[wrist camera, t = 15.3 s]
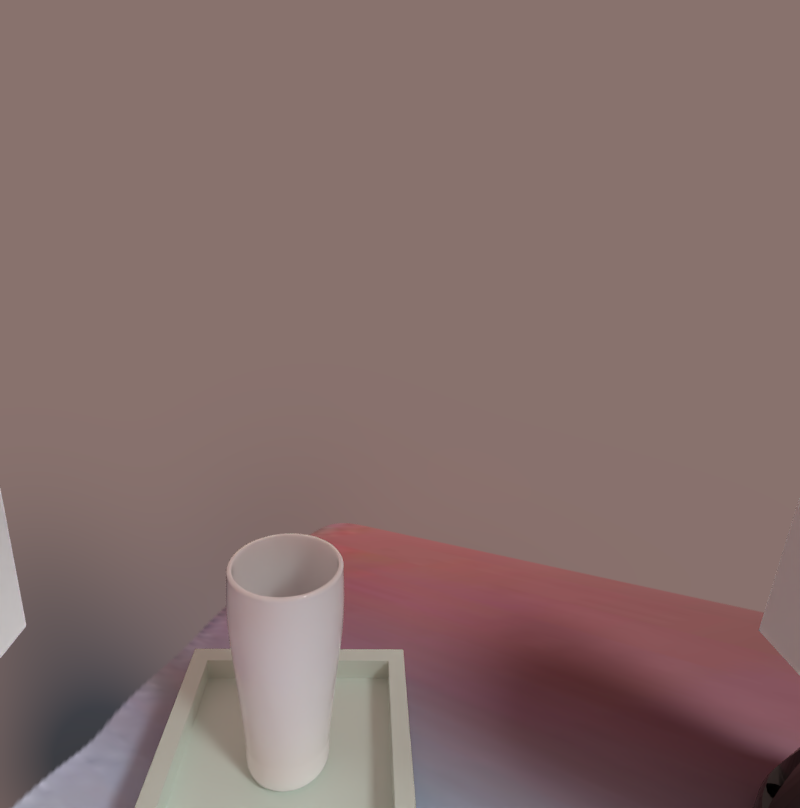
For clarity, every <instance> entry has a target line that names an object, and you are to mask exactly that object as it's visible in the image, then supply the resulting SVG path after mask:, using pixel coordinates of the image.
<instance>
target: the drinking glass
mask: <svg viewBox="0 0 800 808" xmlns="http://www.w3.org/2000/svg"><path fill="white" fill-rule="evenodd" d="M226 610H227V626H228V635H229V642H230V649H231V655H232V661H233V667H234V673H235V679H236V685H237V692H238V698H239V704H240V710H241V717H242V723H243V730H244V736H245V746H246V761H247V766H248V770H249V772H250V774H251V776H252V777H253V778H254V780H255V781H256V782H257V783H258V784H260V785H261V786H263V787H264V788H266V789H269V790H272V791H277V792H288V791H294V790H297V789H300V788H302V787H304V786H306V785H308V784H309V783H311V782H312V781H313V780H314V779H316V778H317V777H318V775H319V774H320V773H321V772H322V770H323V768H324V767H325V765H326V762H327V760H328V756H329V749H330V727H331V718H332V710H333V701H334V693H335V685H336V677H337V670H338V662H339V654H340V647H341V639H342V630H343V618H344V563H343V559H342V556H341V554H340V552H339V551H338V550H337V549H336V548H335V547H334V546H333V545H332V544H330V543H329V542H327V541H325V540H323V539H320V538H318V537H314V536H310V535H305V534H293V533H291V534H290V533H287V534H276V535H271V536H266V537H263V538H260V539H257V540H254V541H252V542H250V543H249V544H246V545H245V546H243V547H242V548H240V549H239V550H238V551H237V552H236V553H235V554H234V555H233V556H232V558H231V559H230V560H229V563H228V565H227V569H226Z"/></svg>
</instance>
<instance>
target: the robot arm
mask: <svg viewBox="0 0 800 808" xmlns="http://www.w3.org/2000/svg"><path fill="white" fill-rule="evenodd" d="M25 627H26V621H25V616H24V610H23V605H22V600H21V595H20V589H19V584H18V579H17V573H16V568H15V563H14V558H13V553H12V547H11V542H10V536H9V532H8V526H7V521H6V515H5V510H4V505H3V500H2V494H1V489H0V658H1V657H2V656H3V654H4V653H5V652H6V651H7V649H8V648H9V647H10V646H11V644H12V643H13V642H14V641H15V639H16V638H17V637H18V636H19V634H20V633H21V632H22V631H23V629H24V628H25ZM759 631H760V632H761V633H762V634H763V635H764V637H765V638H766V639H767V640H768V641H769V642H770V643H771V644H772V645H773V646H774V648H775V649H776V650H777V651H778V652H779V653H780V654H781V655H782V656H783V657H784V658H785V660H786V661H787V662H788V663H789V664H790V665H791V666H792V667H793V668H794V669H795V671H796V672H797V673H798V674H799V675H800V499H799V501H798V504H797V507H796V511H795V514H794V517H793V520H792V524H791V527H790V530H789V534H788V537H787V540H786V544H785V547H784V550H783V553H782V556H781V560H780V563H779V566H778V570H777V573H776V576H775V579H774V583H773V586H772V589H771V592H770V596H769V599H768V602H767V606H766V609H765V612H764V615H763V618H762V622H761V625H760V628H759ZM753 808H800V748H799V749H797V750H796V751H795V752H794V753H793V754H791V755H790V756H789V757H788V758H787V759H785V760H784V761H783V762H782V763H781V764H780V765H778V766H777V767H776V768H775V769H774V770H773V771H772V772H771V773H770V774H769V775H768V776H767V778H766V779H765V781H764V782H763V784H762V786H761V788H760V790H759V793H758V796H757V798H756V801H755V804H754V807H753Z"/></svg>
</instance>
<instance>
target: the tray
mask: <svg viewBox="0 0 800 808" xmlns="http://www.w3.org/2000/svg"><path fill="white" fill-rule="evenodd" d="M135 808H416V802H415V790H414V778H413V765H412V753H411V740H410V728H409V716H408V703H407V691H406V679H405V666H404V654H403V650H396V649H340V654H339V662H338V670H337V677H336V685H335V693H334V701H333V710H332V718H331V727H330V749H329V756H328V760H327V762H326V765H325V767H324V768H323V770H322V772H321V773H320V774H319V775H318V777H317V778H316V779H314V780H313V781H312V782H311V783H309V784H308V785H306V786H304V787H302V788H300V789H297V790H294V791H288V792H277V791H272V790H269V789H266V788H264V787H263V786H261V785H260V784H258V783H257V782H256V781H255V780H254V778H253V777H252V776H251V774H250V772H249V770H248V766H247V761H246V746H245V736H244V730H243V723H242V717H241V710H240V704H239V698H238V692H237V685H236V679H235V673H234V667H233V661H232V655H231V649H195V651H194V654H193V656H192V659H191V661H190V664H189V667H188V669H187V672H186V674H185V677H184V680H183V682H182V685H181V688H180V690H179V693H178V695H177V698H176V701H175V703H174V706H173V708H172V711H171V714H170V716H169V719H168V721H167V724H166V727H165V729H164V732H163V735H162V737H161V740H160V742H159V745H158V748H157V750H156V753H155V755H154V758H153V761H152V763H151V766H150V769H149V771H148V774H147V776H146V779H145V782H144V784H143V787H142V789H141V792H140V795H139V797H138V800H137V802H136V805H135Z"/></svg>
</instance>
